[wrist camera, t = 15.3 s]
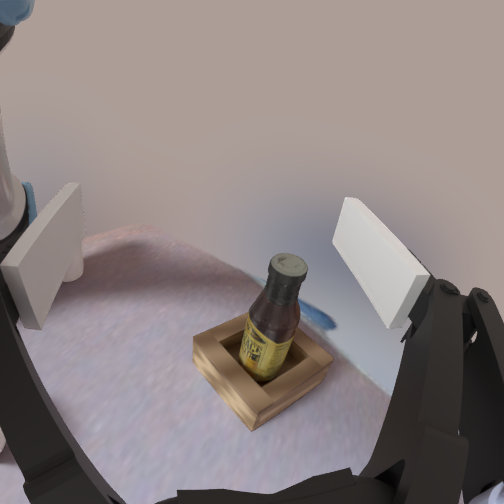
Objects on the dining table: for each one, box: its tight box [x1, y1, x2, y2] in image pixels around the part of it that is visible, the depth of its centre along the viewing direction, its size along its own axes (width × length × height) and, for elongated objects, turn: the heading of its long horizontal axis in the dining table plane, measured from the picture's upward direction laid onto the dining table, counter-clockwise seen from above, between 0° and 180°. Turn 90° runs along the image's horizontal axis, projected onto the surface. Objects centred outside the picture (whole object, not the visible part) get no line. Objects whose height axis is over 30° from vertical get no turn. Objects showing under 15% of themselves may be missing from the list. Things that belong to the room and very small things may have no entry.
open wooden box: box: [193, 312, 334, 432], centre depth 42 cm, size 14×14×6 cm
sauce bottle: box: [238, 253, 308, 385], centre depth 38 cm, size 7×6×20 cm
